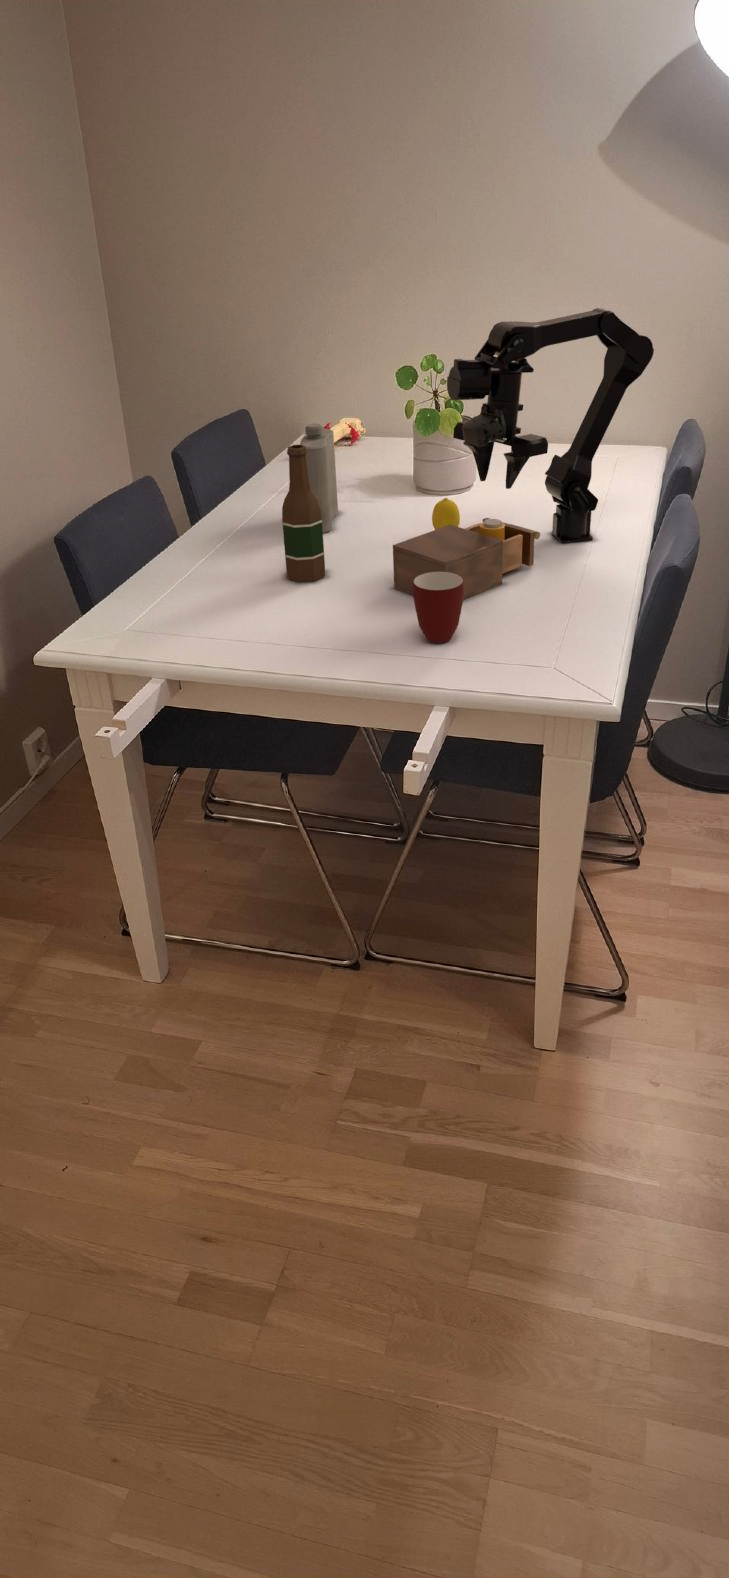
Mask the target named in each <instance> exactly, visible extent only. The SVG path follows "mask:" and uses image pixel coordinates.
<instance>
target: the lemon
mask: <svg viewBox="0 0 729 1578" xmlns="http://www.w3.org/2000/svg"><path fill="white" fill-rule="evenodd" d="M460 521H461V513H460V510H459V507H458V505H457V503H456V502H454V501H453V500H451V499H449V498H448V497H444V498H443V499H441V500H439V501H438V502H436V504H435V505H434V507H433V510H432V514H431V522H432V527H433V529H434V530H437V529H439V528H442V527H445V526H448V525H453V526H457V527H460V526H459V525H460Z"/></svg>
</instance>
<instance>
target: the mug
mask: <svg viewBox="0 0 729 1578" xmlns="http://www.w3.org/2000/svg"><path fill="white" fill-rule="evenodd" d="M412 596H413V603H414V607H415V613H416V619H417V623H418V626H419V628H420V630H421V633H422V634H423V636H424V637H425V639H426V641H428V642H429V643H433V644H444V643H448V642H449V641H451V640H452V638H453V636H454V634H455V632H456V631H457V629H458V626H459V623H460V619H461V613H462V608H463V603H464V600H463V597H464V581H463V578H462V577H461V576H459V575H457V574H454V573H449V572H430V573H425V574H422V575H419V576H417V577H416V578H415V579H414V580H413V595H412Z"/></svg>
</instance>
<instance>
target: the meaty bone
mask: <svg viewBox="0 0 729 1578" xmlns="http://www.w3.org/2000/svg"><path fill="white" fill-rule="evenodd" d="M332 423H333V421H330V422H328V423H326V424H325V425H323V429H330V430H332V431H333V434H334V444H335V443H336V442H337V441H339V440H341V439H343V438H351V440H350V443H348V446H351V445H353V444H354V443H356V441H358V439H359V438H360V437H362V435H364V434H365V433H366V431H367V430H366V428H364V427H362V426H363V422H362V420H361V419H360V418H357V417H343V418H342V419H340V420H339V421H338V422H337V423H338V424H334V425H333V426H332V427H330V424H332Z"/></svg>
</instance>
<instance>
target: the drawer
mask: <svg viewBox="0 0 729 1578" xmlns="http://www.w3.org/2000/svg"><path fill="white" fill-rule="evenodd" d="M487 519H491V518H489V517H484V518H482V522H483V521H484V520H487ZM482 522H479V523H475V524H473V525H470V526H467V527H464V529H467V530H470V531H473V532H477V533H480V524H481V523H482ZM502 523H504V524H505V540H503V568H502V575H503V574H505V573H508V572H511V571H513V570H515V569H518V568H520V567H522V566H527V567H532V566H533V565H534V561H535V540H538V539H540V537H541V532H540V531H537V530H534V529H531V528H527V527H523V526H521V525H516V524H513V523H508V522H507V523H506V522H503V521H502Z"/></svg>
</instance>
